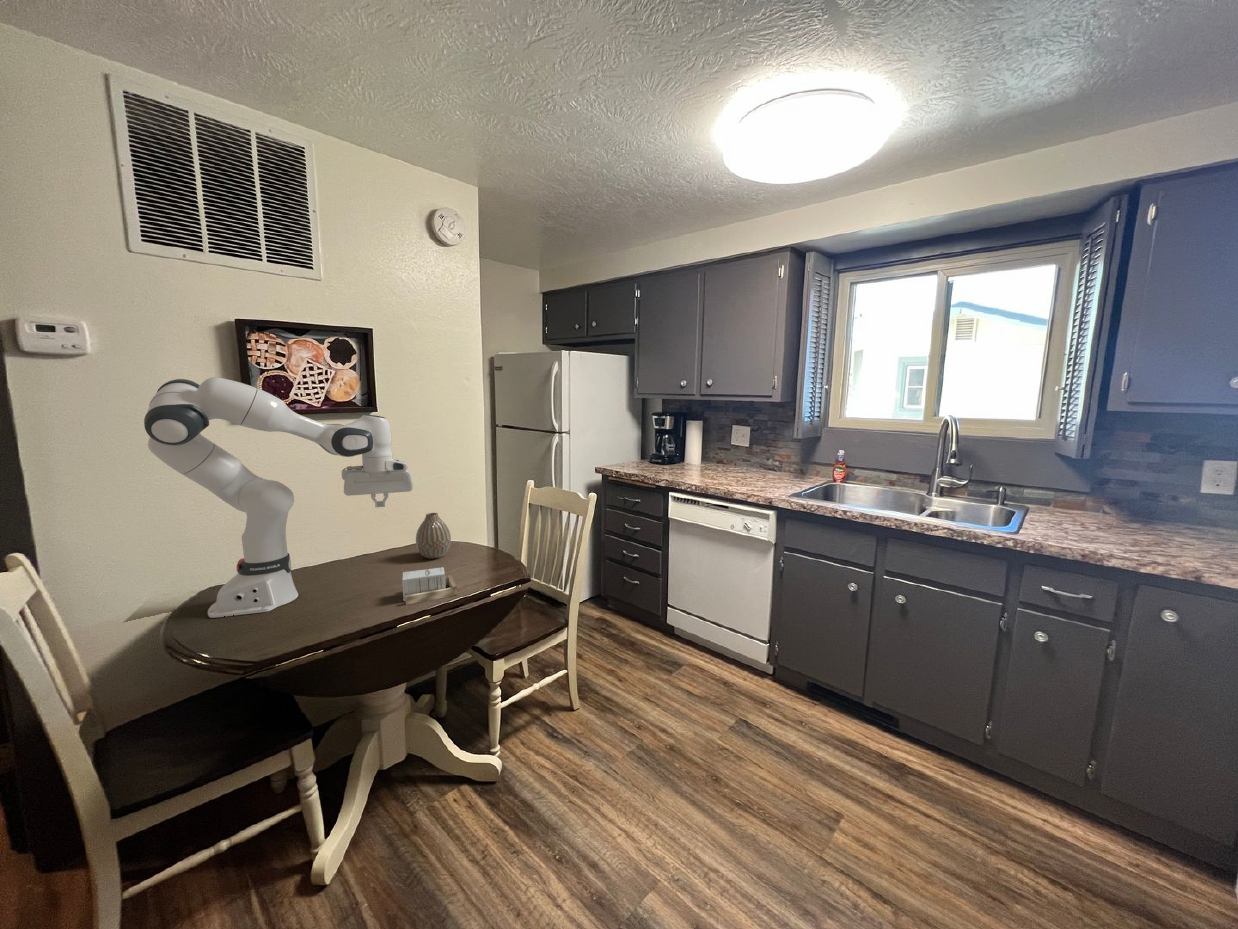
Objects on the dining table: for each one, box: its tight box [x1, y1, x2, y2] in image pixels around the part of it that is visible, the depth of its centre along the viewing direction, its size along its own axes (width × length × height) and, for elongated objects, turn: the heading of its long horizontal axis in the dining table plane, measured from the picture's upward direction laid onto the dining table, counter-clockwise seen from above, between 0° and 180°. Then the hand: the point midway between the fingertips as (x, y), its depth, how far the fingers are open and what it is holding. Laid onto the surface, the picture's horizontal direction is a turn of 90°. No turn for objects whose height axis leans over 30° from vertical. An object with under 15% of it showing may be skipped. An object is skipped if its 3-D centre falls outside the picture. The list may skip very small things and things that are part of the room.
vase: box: [415, 512, 452, 560], centre depth 194 cm, size 13×13×18 cm
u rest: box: [405, 574, 458, 606], centre depth 158 cm, size 15×11×3 cm
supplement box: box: [401, 566, 447, 602], centre depth 157 cm, size 7×7×13 cm
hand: (380, 506), depth 160 cm, fingers closed
